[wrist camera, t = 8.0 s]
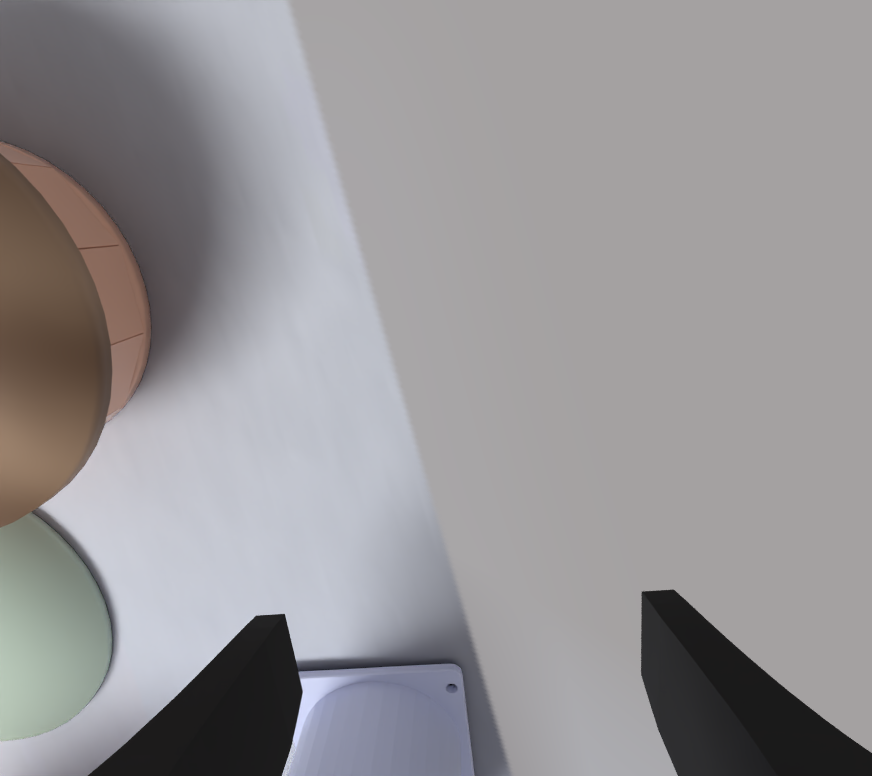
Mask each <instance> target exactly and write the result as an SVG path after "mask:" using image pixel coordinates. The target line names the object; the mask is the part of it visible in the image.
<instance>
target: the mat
mask: <svg viewBox="0 0 872 776" xmlns="http://www.w3.org/2000/svg"><path fill="white" fill-rule="evenodd" d="M111 655H112V631H111V622H110V618H109V614H108V611H107V607H106V603H105V601H104V599H103V596H102V594H101V592H100V589H99V587H98V585H97V583H96V582H95V580H94V578H93V576H92V575H91V573H90V571H89V570H88V568H87V567H86V565H85V564H84V563H83V561H82V560H81V559H80V557H79V556H78V555H77V553H76V552H75V551H74V550H73V549H72V548H71V546H70V545H69V544H68V543H67V542H66V541H65V540H64V539H63V538H62V537H61V536H60V535H59V534H58V533H57V532H56V531H55V530H53V529H52V528H51V527H50V526H49V525H48V524H47V523H45V522H44V521H43V520H42V519H41V518H39V517H38V516H36V515H35V514H33V513H32V512H30V513H29V514H27V515H25V516H23V517H22V518H20V519H18V520H17V521H15V522H13V523H11V524H8V525H6V526H3V527H1V528H0V741H8V740H18V739H24V738H28V737H33V736H37V735H40V734H43V733H46V732H48V731H51V730H54V729H55V728H57V727H59V726H61V725H63V724H65V723H67V722H68V721H69V720H71V719H72V718H73V717H75V716H76V715H77V714H78V713H80V711H81V710H82V709H83V708H84V707H85V706H86V705H87V704H88V703H89V702H90V700H91V699H92V698H93V696H94V695H95V694H96V692H97V691H98V689H99V688H100V686H101V684H102V683H103V681H104V678H105V676H106V673H107V671H108V668H109V664H110V659H111Z"/></svg>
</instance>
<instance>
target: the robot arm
mask: <svg viewBox="0 0 872 776" xmlns="http://www.w3.org/2000/svg"><path fill="white" fill-rule="evenodd" d="M641 636H642V637H641V639H642V640H641V642H642V643H641V644H642V645H641V646H642V647H641V675H642V678H643V682H644V685H645V688H646V692H647V695H648V698H649V701H650V704H651V708H652V711H653V714H654V717H655V720H656V723H657V727H658V730H659V732H660V735H661V737H662V739H663V742H664V744H665V746H666V749H667V751H668V754H669V756H670V758H671V760H672V763H673V765H674V767H675V770H676V772H677V775H678V776H872V753H871V752H869V751H868V750H866V749H865V748H863V747H862V746H861V745H859V744H858V743H856V742H855V741H854V740H852V739H851V738H849V737H848V736H846V735H845V734H844V733H842V732H841V731H840V730H838V729H837V728H835V727H834V726H833V725H831V724H830V723H829V722H827V721H826V720H825V719H823V718H822V717H821V716H820V715H818V714H817V713H816V712H814V711H813V710H812V709H810V708H809V707H808V706H807V705H805V704H804V703H803V702H802V701H800V700H799V699H798V698H796V697H795V696H794V695H793V694H791V693H790V692H789V691H787V689H785V688H784V687H783V686H782V685H780V684H779V683H778V682H777V681H776V680H774V679H773V678H772V677H771V676H770V675H768V674H767V673H766V672H765V671H764V670H763V669H761V668H760V667H759V666H758V665H757V664H756V663H754V662H753V661H752V660H751V659H750V658H748V657H747V656H746V655H745V654H744V653H743V652H742V651H741V650H739V649H738V648H737V647H736V646H735V645H734V644H733V643H732V642H730V641H729V640H728V639H727V638H726V637H725V636H724V635H723V634H722V633H720V632H719V631H718V630H717V629H716V628H715V627H714V626H713V625H712V624H711V623H709V622H708V621H707V620H706V619H705V618H704V617H703V616H702V615H701V614H700V613H699V612H698V611H696V610H695V609H694V608H693V607H692V606H691V605H690V604H689V603H688V602H687V601H686V600H685V599H684V598H682V597H681V596H680V595H679V594H678V593H677V592H676V591H675V590H661V591H645V592H642V634H641ZM448 684H455V685H453V686H451V685H448ZM292 741H293V742H294V746H295V753H294V757H293V760H292V763H291V766H290V770H289V773H288V776H475V774H474V766H473V757H472V749H471V741H470V732H469V724H468V716H467V707H466V699H465V691H464V682H463V674H462V670H461V668H460V667H459V666H457V665H455V664H431V665H413V666H394V667H376V668H357V669H339V670H320V671H302V672H298V668H297V664H296V660H295V656H294V651H293V647H292V643H291V639H290V634H289V630H288V626H287V622H286V617H285V614H276V615H260V616H255V617H254V618H253V619H252V620H251V621H250V622H249V623H248V624H247V625H246V626H245V627H244V628H243V629H242V630H241V631H240V632H239V633H238V634H237V635H236V636H235V637H234V638H233V639H232V640H231V641H230V642H229V644H228V645H227V646H226V647H225V648H224V649H223V650H222V651H221V652H220V653H219V654H218V655H217V656H216V657H215V658H214V659H213V660H212V661H211V662H210V663H209V664H208V665H207V666H206V667H205V668H204V669H203V670H202V671H201V672H200V673H199V674H198V675H197V676H196V677H195V678H194V679H193V680H192V681H191V682H190V683H189V684H188V685H187V686H186V687H185V688H184V689H183V690H182V691H181V692H180V693H179V694H178V695H177V696H176V697H175V698H174V699H173V700H172V701H171V702H170V703H169V704H168V705H167V706H165V707H164V708H163V709H162V710H161V711H160V712H159V713H158V714H157V715H156V716H155V717H154V718H153V719H151V720H150V721H149V722H148V723H147V724H146V725H145V726H144V727H143V728H142V729H141V730H140V731H139V732H138V733H136V734H135V735H134V736H133V737H132V738H131V739H130V740H129V741H128V742H127V743H126V744H124V745H123V746H122V747H121V748H120V749H119V750H118V751H117V752H115V753H114V754H113V755H112V756H111V757H110V758H108V759H107V760H106V761H105V762H104V763H103V764H101V765H100V766H99V767H98V768H97V769H95V770H94V771H93V772H92V773H90V774H89V775H88V776H282V773H283V770H284V767H285V764H286V761H287V758H288V755H289V752H290V749H291V745H292Z"/></svg>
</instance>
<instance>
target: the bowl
mask: <svg viewBox="0 0 872 776" xmlns="http://www.w3.org/2000/svg"><path fill="white" fill-rule="evenodd" d="M0 153H1V154H2V155H3V156H4V157H5V158H6V159H7V160H9V161H10V162H11V163H12V164H13V165H14V166H15V167H16V168H17V169H18V170H19V171H20V172H21V173H22V174H23V175H24V176H25V177H26V178H27V179H28V181H29V182H30V183H31V184H32V185H33V186H34V187H35V188H36V189H37V190H38V191H39V192H40V193H41V195H42V196H43V197H44V199H45V200H46V201H47V203H48V204H49V205H50V207H51V208H52V209H53V211H54V212H55V213H56V215H57V216H58V217H59V219H60V220H61V221H62V223H63V224H64V226H65V227H66V229H67V231H68V232H69V234H70V236H71V238H72V239H73V241H74V243H75V244H76V246H77V248H78V249H79V251H80V253H81V255H82V257H83V259H84V261H85V263H86V265H87V268H88V270H89V272H90V274H91V276H92V279H93V281H94V283H95V286H96V289H97V292H98V295H99V298H100V301H101V304H102V307H103V310H104V313H105V318H106V323H107V328H108V333H109V338H110V343H111V356H112V386H111V399H110V404H109V408H108V413H107V417H106V422H105V423H107V422H108V421H110V420H111V419H112V418H113V417H114V416H115V415H116V414H117V413H118V412H120V411H121V410H122V409H123V407H124V406H125V405H126V404H127V402H128V401H129V400H130V398H131V397H132V396H133V394H134V392H135V390H136V388H137V387H138V385H139V383H140V381H141V379H142V376H143V373H144V370H145V367H146V365H147V360H148V355H149V350H150V341H151V317H150V306H149V301H148V296H147V292H146V287H145V284H144V281H143V278H142V275H141V272H140V269H139V266H138V264H137V262H136V260H135V257H134V255H133V253H132V251H131V249H130V247H129V245H128V243H127V242H126V240H125V238H124V237H123V235H122V233H121V232H120V230H119V228H118V227H117V225H116V224H115V223H114V221H113V220H112V219H111V218H110V216H109V215H108V214H107V212H106V211H105V210H104V208H103V207H102V206H101V205H100V204H99V203H98V202H97V201H96V200H95V199H94V198H93V197H92V196H91V195H90V194H89V193H88V192H87V190H85V189H84V188H83V187H82V186H81V185H80V184H78V183H77V182H76V181H75V180H74V179H72V178H71V177H70V176H69V175H68V174H66V173H65V172H63V171H62V170H60V169H59V168H57V167H56V166H54V165H53V164H51V163H50V162H48V161H46V160H44V159H43V158H41V157H39V156H37V155H35V154H33V153H31V152H29V151H27V150H24V149H22V148H19V147H16V146H14V145H11V144H8V143H6V142H2V141H0Z"/></svg>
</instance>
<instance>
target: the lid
mask: <svg viewBox="0 0 872 776" xmlns="http://www.w3.org/2000/svg"><path fill="white" fill-rule="evenodd" d="M111 386H112V356H111V343H110V338H109V333H108V328H107V323H106V318H105V313H104V310H103V307H102V304H101V301H100V298H99V295H98V292H97V289H96V286H95V283H94V281H93V279H92V276H91V274H90V272H89V270H88V268H87V265H86V263H85V261H84V259H83V257H82V255H81V253H80V251H79V249H78V248H77V246H76V244H75V243H74V241H73V239H72V238H71V236H70V234H69V232H68V231H67V229H66V227H65V226H64V224H63V223H62V221H61V220H60V219H59V217H58V216H57V215H56V213H55V212H54V211H53V209H52V208H51V207H50V205H49V204H48V203H47V201H46V200H45V199H44V197H43V196H42V195H41V193H40V192H39V191H38V190H37V189H36V188H35V187H34V186H33V185H32V184H31V183H30V182H29V181H28V179H27V178H26V177H25V176H24V175H23V174H22V173H21V172H20V171H19V170H18V169H17V168H16V167H15V166H14V165H13V164H12V163H11V162H10V161H9V160H7V159H6V158H5V157H4V156H3V155H2V154H1V153H0V528H1V527H3V526H6V525H8V524H11V523H13V522H15V521H17V520H18V519H20V518H22V517H23V516H25V515H27V514H29V513H30V512H32V511H34V510H35V509H36V508H38V507H39V506H41V505H42V504H44V503H45V502H47V501H48V500H49V499H51V498H52V497H54V496H55V495H56V494H57V493H58V492H59V491H61V490H62V489H63V488H64V487H65V486H67V485H68V484H69V483H70V482H71V481H72V480H73V478H74V477H75V476H76V475H77V474H78V473H79V471H80V470H81V469H82V468H83V467H84V465H85V464H86V462H87V460H88V459H89V457H90V455H91V454H92V452H93V450H94V449H95V447H96V445H97V443H98V440H99V438H100V435H101V433H102V430H103V427H104V425H105V422H106V417H107V413H108V408H109V404H110V399H111Z"/></svg>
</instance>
